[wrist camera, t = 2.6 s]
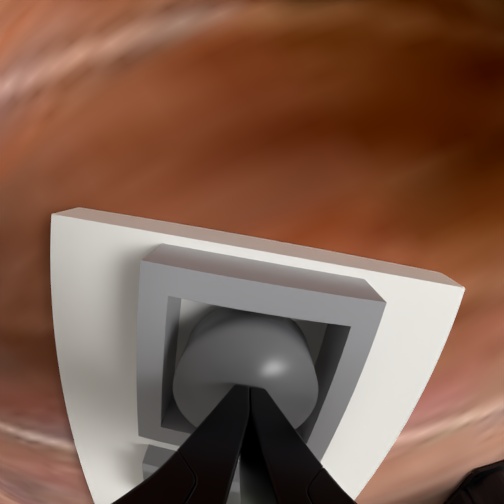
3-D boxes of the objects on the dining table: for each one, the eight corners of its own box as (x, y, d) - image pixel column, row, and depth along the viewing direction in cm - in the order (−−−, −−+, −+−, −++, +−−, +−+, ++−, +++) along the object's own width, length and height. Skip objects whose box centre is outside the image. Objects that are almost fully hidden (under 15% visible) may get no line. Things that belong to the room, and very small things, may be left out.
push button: (322, 313, 10) (336, 345, 8) (292, 409, 11) (297, 448, 9) (192, 291, 10) (178, 320, 8) (182, 393, 11) (170, 430, 9)
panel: (440, 272, 12) (496, 308, 8) (300, 540, 17) (303, 578, 13) (79, 207, 11) (16, 223, 8) (111, 510, 17) (98, 547, 13)
